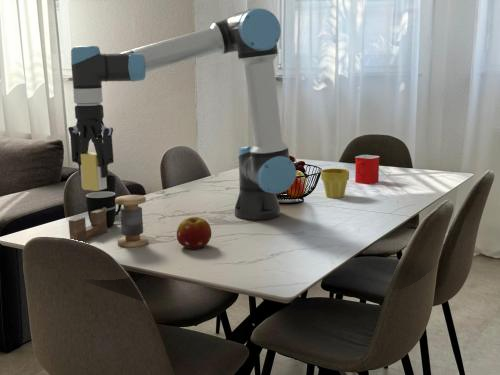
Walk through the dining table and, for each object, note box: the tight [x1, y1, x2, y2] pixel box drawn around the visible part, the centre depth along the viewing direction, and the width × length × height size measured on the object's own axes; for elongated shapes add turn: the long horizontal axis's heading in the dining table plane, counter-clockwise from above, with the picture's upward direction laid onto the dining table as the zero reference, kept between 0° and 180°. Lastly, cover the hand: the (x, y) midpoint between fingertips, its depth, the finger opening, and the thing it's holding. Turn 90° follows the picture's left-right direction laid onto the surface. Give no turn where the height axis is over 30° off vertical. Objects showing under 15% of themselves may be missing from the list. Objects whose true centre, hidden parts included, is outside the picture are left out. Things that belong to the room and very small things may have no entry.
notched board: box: [68, 209, 108, 243], centre depth 176 cm, size 2×14×7 cm, turn 157°
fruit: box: [176, 216, 212, 250], centre depth 166 cm, size 10×9×8 cm
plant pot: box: [320, 167, 350, 199], centre depth 225 cm, size 10×10×10 cm
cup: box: [94, 174, 117, 194], centre depth 207 cm, size 8×8×12 cm
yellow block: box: [81, 151, 99, 192], centre depth 168 cm, size 5×4×10 cm
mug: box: [85, 191, 122, 229], centre depth 189 cm, size 12×9×10 cm
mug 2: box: [354, 154, 380, 185], centre depth 249 cm, size 12×8×11 cm
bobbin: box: [115, 194, 149, 249], centre depth 169 cm, size 8×8×13 cm
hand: (94, 188), depth 169 cm, fingers closed on yellow block, 5 cm apart
